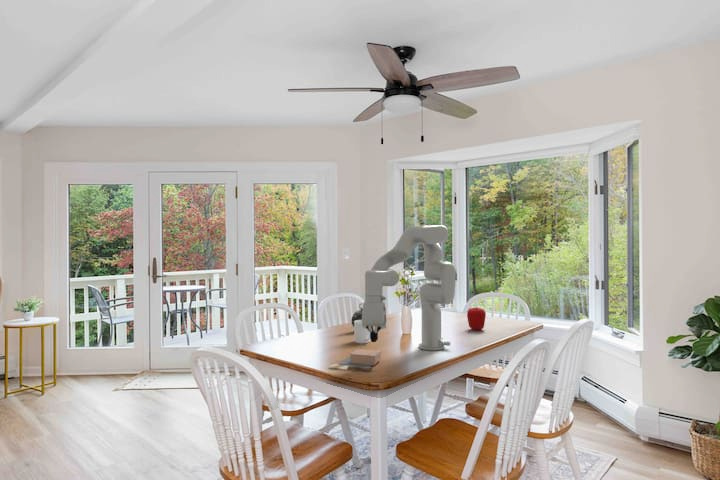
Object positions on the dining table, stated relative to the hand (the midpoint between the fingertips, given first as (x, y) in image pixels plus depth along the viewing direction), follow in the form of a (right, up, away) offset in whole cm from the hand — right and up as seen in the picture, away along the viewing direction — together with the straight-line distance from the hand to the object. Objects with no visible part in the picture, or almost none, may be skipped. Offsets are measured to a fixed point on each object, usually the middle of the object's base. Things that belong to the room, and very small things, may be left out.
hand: (373, 341), depth 197 cm
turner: (-11, -10, -8) cm, 16 cm away
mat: (-6, -10, +2) cm, 12 cm away
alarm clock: (-5, -9, +65) cm, 66 cm away
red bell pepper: (+62, -9, +68) cm, 93 cm away
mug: (-4, -9, +39) cm, 40 cm away
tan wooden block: (+2, -7, -1) cm, 7 cm away
